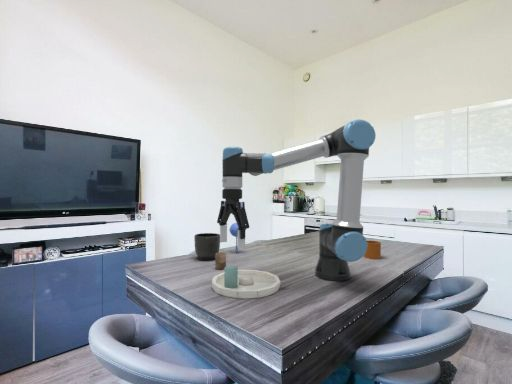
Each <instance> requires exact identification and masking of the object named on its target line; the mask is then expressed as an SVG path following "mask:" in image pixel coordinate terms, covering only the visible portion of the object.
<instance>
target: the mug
mask: <svg viewBox="0 0 512 384" xmlns="http://www.w3.org/2000/svg"><path fill="white" fill-rule="evenodd" d="M366 241H367V251H366V253H365V255H364V256H363V257H364V258H365V259H367V258H369V260H380V258H381V257H382V255H381V252H382V248H381V246H382V245H381V244H382V243H381V242H380V241H377V240H366ZM381 259H382V258H381Z"/></svg>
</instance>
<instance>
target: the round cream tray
mask: <svg viewBox="0 0 512 384" xmlns="http://www.w3.org/2000/svg"><path fill="white" fill-rule="evenodd" d="M280 287H281V279H280V278H279V276H278V275H276V274H273V273H272V272H268V271H265V270H263V271H262V270H256V269H238V286H237V287H236V288H232V289H231V288H225V287H224V271H223V272H221V273H219V274H216V275H215V276H213V277H212V280H211V288H212V290H213V291H214V292H215V293H216V294H218V295H219V296H224V297H227V298H233V299H242V300H244V299H245V300H247V299H249V300H251V299H258V298H264V297H268V296H271V295H273V294H275V293H277V292H278V291H279V290H280Z"/></svg>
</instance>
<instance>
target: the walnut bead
mask: <svg viewBox="0 0 512 384" xmlns="http://www.w3.org/2000/svg"><path fill="white" fill-rule="evenodd" d="M214 259H215V260H214V261H215V265H214V266H215V270H218V271H223V270H224V268H225V267H226V266H227V253H226V252H219V253H216V255H215V258H214Z"/></svg>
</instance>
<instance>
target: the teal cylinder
mask: <svg viewBox="0 0 512 384" xmlns="http://www.w3.org/2000/svg"><path fill="white" fill-rule="evenodd" d="M238 268H239V267H238V266H235V265H226V267H225V268H224V271H223V272H224V287H225V288H231V289H232V288H236V287H237V286H238V270H239V269H238Z"/></svg>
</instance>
